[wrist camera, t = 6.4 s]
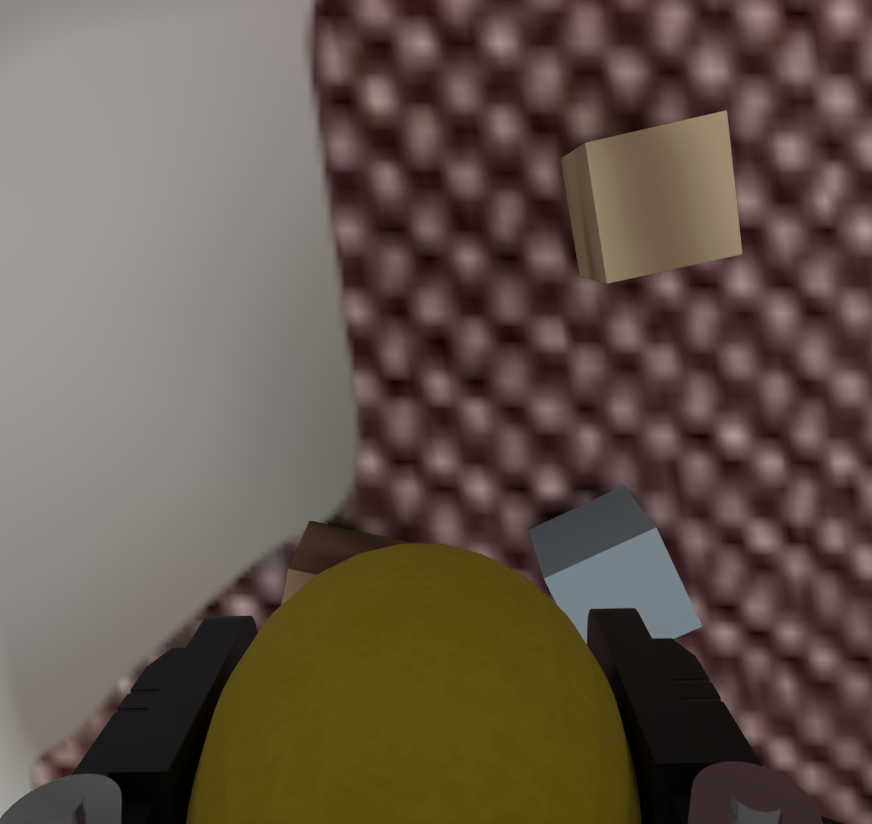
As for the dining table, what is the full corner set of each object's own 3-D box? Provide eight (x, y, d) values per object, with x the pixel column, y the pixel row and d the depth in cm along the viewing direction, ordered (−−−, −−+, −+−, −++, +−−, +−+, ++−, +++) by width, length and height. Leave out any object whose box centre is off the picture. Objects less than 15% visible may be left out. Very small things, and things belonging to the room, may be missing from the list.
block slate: (623, 485, 33) (656, 527, 28) (663, 570, 34) (702, 626, 29) (527, 529, 33) (543, 578, 28) (570, 612, 34) (593, 674, 30)
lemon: (276, 729, 14) (57, 1369, 6) (282, 462, 12) (10, 836, 5) (555, 748, 14) (701, 1407, 6) (590, 485, 12) (837, 893, 5)
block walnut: (411, 541, 33) (407, 592, 29) (390, 631, 35) (383, 695, 30) (309, 520, 33) (288, 568, 28) (291, 612, 34) (268, 673, 30)
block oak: (677, 132, 29) (726, 110, 24) (692, 251, 30) (742, 254, 25) (560, 158, 29) (585, 142, 24) (579, 276, 30) (606, 283, 26)
